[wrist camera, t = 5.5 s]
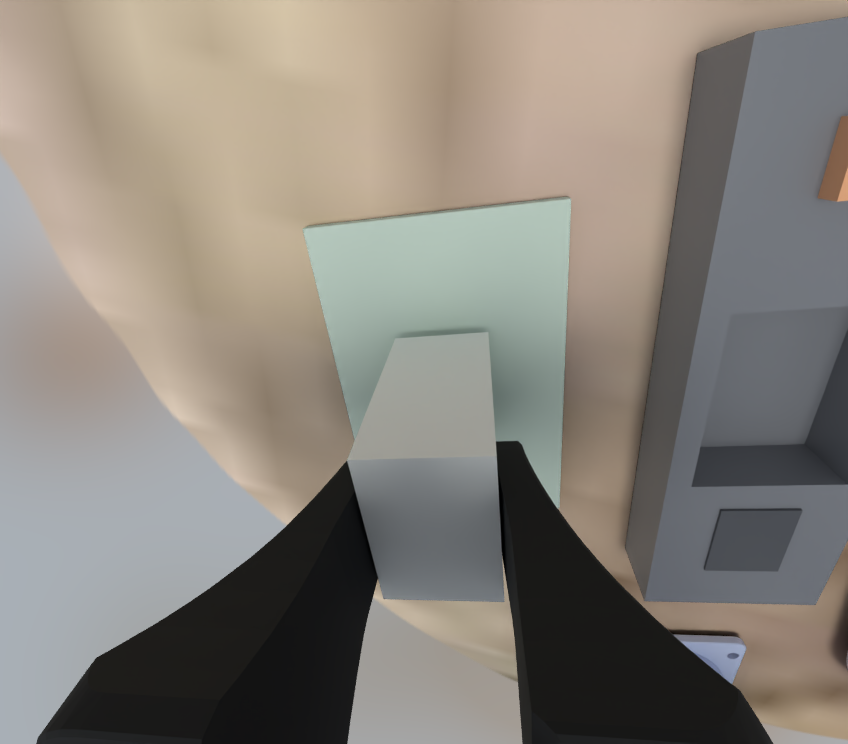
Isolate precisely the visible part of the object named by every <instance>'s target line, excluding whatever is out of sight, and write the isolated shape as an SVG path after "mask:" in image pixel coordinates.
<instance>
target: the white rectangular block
mask: <svg viewBox="0 0 848 744" xmlns="http://www.w3.org/2000/svg"><path fill="white" fill-rule="evenodd" d="M347 462H348V466H349V469H350V473H351V477H352V481H353V485H354V488H355V492H356V496H357V500H358V504H359V507H360V511H361V515H362V519H363V523H364V526H365V530H366V534H367V538H368V541H369V545H370V549H371V553H372V557H373V560H374V564H375V568H376V572H377V576H378V579H379V583H380V587H381V591H382V595H383V598H384V599H403V600H445V601H487V602H504V585H503V566H502V547H501V528H500V509H499V490H498V471H497V453H496V438H495V423H494V408H493V393H492V379H491V364H490V349H489V334H488V332H481V333H467V334H453V335H438V336H424V337H410V338H395V341H394V343H393V346H392V348H391V351H390V353H389V356H388V358H387V361H386V363H385V366H384V368H383V371H382V373H381V376H380V378H379V381H378V383H377V386H376V388H375V391H374V393H373V396H372V398H371V401H370V404H369V406H368V409H367V411H366V414H365V416H364V419H363V421H362V424H361V426H360V429H359V431H358V434H357V436H356V439H355V441H354V444H353V446H352V449H351V451H350V454H349V456H348V459H347Z"/></svg>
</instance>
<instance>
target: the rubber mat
mask: <svg viewBox="0 0 848 744" xmlns="http://www.w3.org/2000/svg"><path fill="white" fill-rule="evenodd" d="M570 216H571V198H569V197H559V198H550V199H542V200H533V201H524V202H515V203H506V204H498V205H489V206H480V207H471V208H462V209H454V210H445V211H436V212H427V213H418V214H410V215H401V216H392V217H383V218H374V219H365V220H357V221H348V222H339V223H330V224H321V225H313V226H307V227H305V228H303V233H304V237H305V241H306V245H307V249H308V253H309V257H310V261H311V265H312V269H313V273H314V277H315V282H316V286H317V290H318V294H319V298H320V302H321V306H322V310H323V314H324V318H325V322H326V326H327V330H328V334H329V338H330V342H331V346H332V351H333V355H334V359H335V363H336V367H337V371H338V375H339V379H340V383H341V387H342V391H343V395H344V399H345V403H346V407H347V411H348V416H349V420H350V424H351V428H352V432H353V436H354V440H355V439H356V436H357V434H358V431H359V429H360V426H361V424H362V421H363V419H364V416H365V414H366V411H367V409H368V406H369V404H370V401H371V398H372V396H373V393H374V391H375V388H376V386H377V383H378V381H379V378H380V376H381V373H382V371H383V368H384V366H385V363H386V361H387V358H388V356H389V353H390V351H391V348H392V346H393V343H394V341H395V338H410V337H424V336H438V335H453V334H467V333H481V332H488V334H489V349H490V364H491V379H492V393H493V408H494V423H495V438H496V441H519V442H520V443H521V444H522V446H523V449H524V451H525V454H526V456H527V458H528V460H529V462H530V464H531V466H532V468H533V470H534V472H535V474H536V475H537V477H538V479H539V481H540V482H541V484H542V486H543V487H544V489H545V490H546V492H547V493H548V495H549V497H550V498H551V500H552V501H553V503H554V504H555V506H556V507H557V508H559V504H560V478H561V451H562V425H563V399H564V373H565V347H566V320H567V294H568V268H569V242H570Z"/></svg>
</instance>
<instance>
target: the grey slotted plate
mask: <svg viewBox="0 0 848 744" xmlns="http://www.w3.org/2000/svg"><path fill="white" fill-rule="evenodd" d="M847 541H848V17H844V18H838V19H831V20H825V21H819V22H812V23H806V24H800V25H794V26H787V27H781V28H775V29H768V30H762V31H756V32H753V33H750V34H748V35H745V36H742V37H740V38H737V39H734V40H732V41H729V42H726V43H724V44H721V45H718V46H716V47H713V48H710V49H708V50H705V51H702V52H700V53H698V55H697V61H696V68H695V75H694V82H693V89H692V95H691V102H690V109H689V116H688V123H687V130H686V136H685V143H684V150H683V157H682V164H681V171H680V177H679V184H678V191H677V198H676V205H675V211H674V218H673V225H672V232H671V239H670V246H669V252H668V259H667V266H666V273H665V280H664V286H663V293H662V300H661V307H660V314H659V321H658V327H657V334H656V341H655V348H654V355H653V361H652V368H651V375H650V382H649V389H648V396H647V402H646V409H645V416H644V423H643V430H642V437H641V443H640V450H639V457H638V464H637V471H636V477H635V484H634V491H633V498H632V505H631V512H630V518H629V525H628V532H627V539H626V546H625V549H626V552H627V554H628V557H629V560H630V563H631V565H632V568H633V571H634V574H635V576H636V579H637V582H638V584H639V587H640V590H641V593H642V595H643V598H644V601H662V602H706V603H751V604H796V605H816V603H817V601H818V599H819V597H820V595H821V593H822V591H823V589H824V587H825V585H826V583H827V581H828V579H829V577H830V575H831V573H832V571H833V569H834V567H835V565H836V563H837V561H838V559H839V557H840V555H841V553H842V551H843V549H844V547H845V545H846V543H847Z"/></svg>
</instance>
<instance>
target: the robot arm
mask: <svg viewBox="0 0 848 744" xmlns="http://www.w3.org/2000/svg"><path fill="white" fill-rule="evenodd" d="M496 453H497V471H498V490H499V509H500V528H501V547H502V556H503V563H504V569H505V575H506V581H507V588H508V594H509V600H510V607H511V613H512V619H513V627H514V636H515V646H516V660H517V673H518V687H519V700H520V714H521V726H522V727H521V728H522V740H523V741H522V742H523V744H773V742H772V741H771V739H770V737H769V736H768V734H767V732H766V731H765V729H764V728H763V726H762V724H761V723H760V721H759V719H758V718H757V716H756V715H755V713H754V711H753V710H752V708H751V707H750V705H749V704H748V702H747V701H746V699H745V698H744V696H743V695H742V693H741V692H740V690H739V689H737V688H736V687H735V686H734V685H732V683H733V680H734V678H735V676H736V673H737V671H738V668H739V666H740V663H741V661H742V658H743V656H744V653H745V651H746V646H745V644H744V642H743V641H742V639H740V638H738V637H734V636H707V635H676V634H672V633H671V632H669V631H668V630H667V629H666V628H665V627H664V626H663V625H662V624H661V623H659V622H658V621H657V620H656V619H655V618H654V617H653V616H652V615H651V614H650V613H649V612H648V611H647V610H646V609H645V608H644V607H643V606H642V605H641V604H640V603H639V602H638V601H637V600H636V599H635V598H634V597H633V596H632V595H631V594H630V593H629V592H627V591H626V590H625V589H624V588H623V587H622V586H621V585H620V584H619V583H618V582H617V581H616V579H615V578H614V577H613V576H612V575H611V574H610V573H609V572H608V571H607V570H606V569H605V567H604V566H603V565H602V564H601V563H600V562H599V561H598V560H597V559H596V557H595V556H594V555H593V554H592V553H591V552H590V550H589V549H588V548H587V547H586V546H585V544H584V543H583V542H582V541H581V539H580V538H579V537H578V536H577V534H576V533H575V532H574V531H573V529H572V528H571V527H570V525H569V524H568V523H567V521H566V520H565V518H564V517H563V516H562V514H561V513H560V512H559V510H558V509H557V507H556V506H555V504H554V503H553V501H552V500H551V498H550V497H549V495H548V493H547V492H546V490H545V489H544V487H543V486H542V484H541V482H540V481H539V479H538V477H537V475H536V474H535V472H534V470H533V468H532V466H531V464H530V462H529V460H528V458H527V456H526V454H525V451H524V449H523V446H522V444H521V443H520V442H519V441H496ZM377 579H378V576H377V572H376V568H375V564H374V560H373V557H372V553H371V549H370V545H369V541H368V538H367V534H366V530H365V526H364V523H363V519H362V515H361V511H360V507H359V504H358V500H357V496H356V492H355V488H354V485H353V481H352V477H351V473H350V469H349V466H348V462H347V461H346V462H345V464H344V465H343V466H342V467H341V468H340V469H339V471H338V472H337V473H336V474H335V475H334V476H333V477H332V479H331V480H330V481H329V482H328V483H327V484H326V485H325V486H324V488H323V489H322V490H321V491H320V492H319V493H318V494H317V495H316V496H315V497H314V499H313V500H312V501H311V502H310V503H309V504H308V505H307V506H306V507H305V508H304V509H303V510H302V511H301V512H300V513H299V514H298V515H297V516H296V517H295V518H294V519H293V520H292V521H291V522H290V523H289V524H288V525H287V526H286V527H285V528H284V529H283V530H282V531H281V532H280V533H278V534H277V535H276V536H275V537H274V538H273V539H272V540H271V541H270V542H268V543H267V544H266V545H265V546H264V547H263V548H261V549H260V550H259V551H258V552H257V553H255V555H253V556H252V557H251V558H249V559H248V560H247V561H245V562H244V563H243V564H241V565H240V566H239V567H238V568H236V569H235V570H234V571H233V572H231V573H230V574H228V575H227V576H226V577H224V578H223V579H222V580H220V581H219V582H218V583H216V584H215V585H214V586H212V587H211V588H210V589H208V590H207V591H205V592H204V593H202V594H201V595H199V596H198V597H196V598H195V599H193V600H192V601H191V602H189V603H188V604H186V605H185V606H183V607H181V608H180V609H178V610H177V611H175V612H174V613H172V614H170V615H169V616H168V617H166V618H164V619H163V620H161V621H159V622H158V623H156V624H155V625H153V626H151V627H149V628H148V629H146V630H144V631H143V632H141V633H139V634H137V635H136V636H134V637H132V638H130V639H129V640H127V641H125V642H124V643H122V644H120V645H118V646H117V647H115V648H113V649H111V650H110V651H108V652H106V653H104V654H102V655H101V656H99V657H97V658H96V659H95V661H94V662H93V663H92V664H91V666H90V667H89V668H88V670H87V671H86V672H85V674H84V675H83V677H82V678H81V679H80V681H79V682H78V683H77V685H76V686H75V688H74V689H73V690H72V692H71V693H70V694H69V696H68V697H67V698H66V700H65V702H64V703H63V704H62V705H61V707H60V708H59V709H58V711H57V712H56V714H55V715H54V716H53V718H52V719H51V720H50V722H49V723H48V725H47V726H46V727H45V729H44V730H43V732H42V733H41V734H40V736H39V737H38V740H37V743H36V744H347V741H348V734H349V726H350V719H351V712H352V706H353V699H354V692H355V685H356V679H357V672H358V666H359V660H360V654H361V648H362V641H363V636H364V631H365V627H366V622H367V618H368V613H369V610H370V606H371V602H372V598H373V594H374V591H375V587H376V583H377Z"/></svg>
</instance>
